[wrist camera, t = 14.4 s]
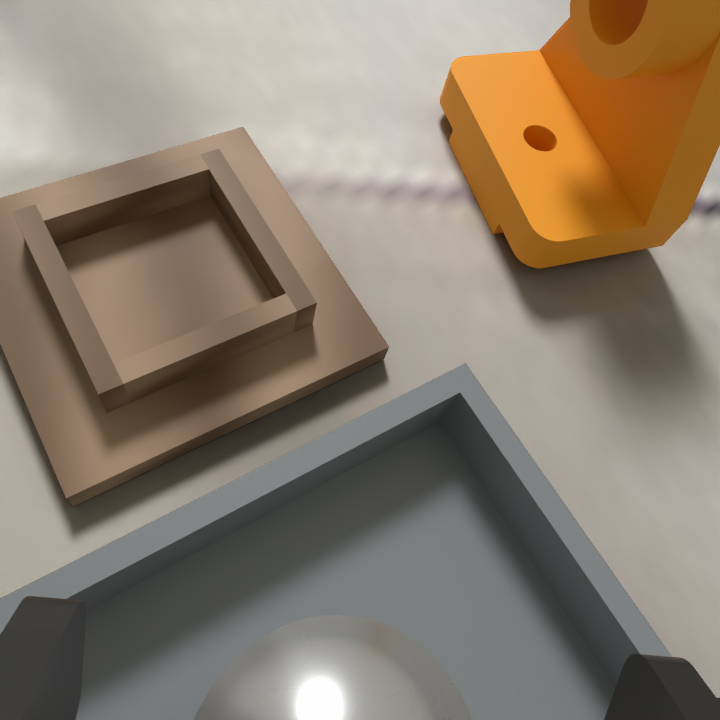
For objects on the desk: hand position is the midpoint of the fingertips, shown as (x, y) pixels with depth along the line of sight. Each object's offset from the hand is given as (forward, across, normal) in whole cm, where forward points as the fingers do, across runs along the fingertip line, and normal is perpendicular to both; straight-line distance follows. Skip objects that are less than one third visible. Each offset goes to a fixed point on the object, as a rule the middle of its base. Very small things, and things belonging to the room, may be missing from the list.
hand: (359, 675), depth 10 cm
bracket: (+24, -9, -8) cm, 27 cm away
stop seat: (+18, +6, -1) cm, 19 cm away
